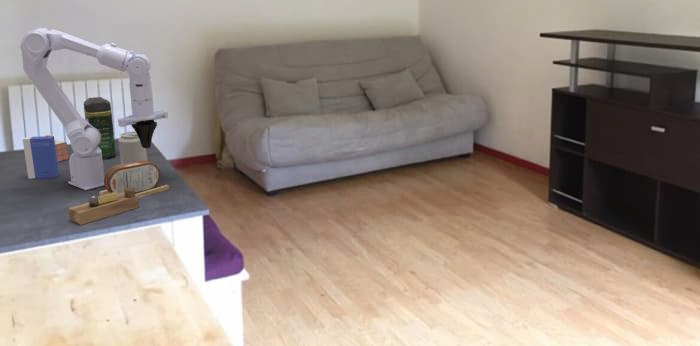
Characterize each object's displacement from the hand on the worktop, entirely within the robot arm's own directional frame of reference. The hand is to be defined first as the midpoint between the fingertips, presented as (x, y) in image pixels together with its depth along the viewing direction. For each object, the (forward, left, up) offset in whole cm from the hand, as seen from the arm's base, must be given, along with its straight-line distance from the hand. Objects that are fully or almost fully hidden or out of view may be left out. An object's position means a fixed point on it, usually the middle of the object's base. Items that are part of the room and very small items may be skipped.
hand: (146, 147), depth 194 cm
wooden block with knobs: (+13, -22, -10) cm, 28 cm away
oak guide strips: (+5, -8, -10) cm, 14 cm away
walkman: (-27, -17, -10) cm, 33 cm away
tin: (+5, -8, -10) cm, 14 cm away
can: (-10, +2, -10) cm, 14 cm away
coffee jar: (-34, +6, -10) cm, 36 cm away
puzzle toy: (-41, -6, -10) cm, 43 cm away
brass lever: (+14, -23, -7) cm, 27 cm away
